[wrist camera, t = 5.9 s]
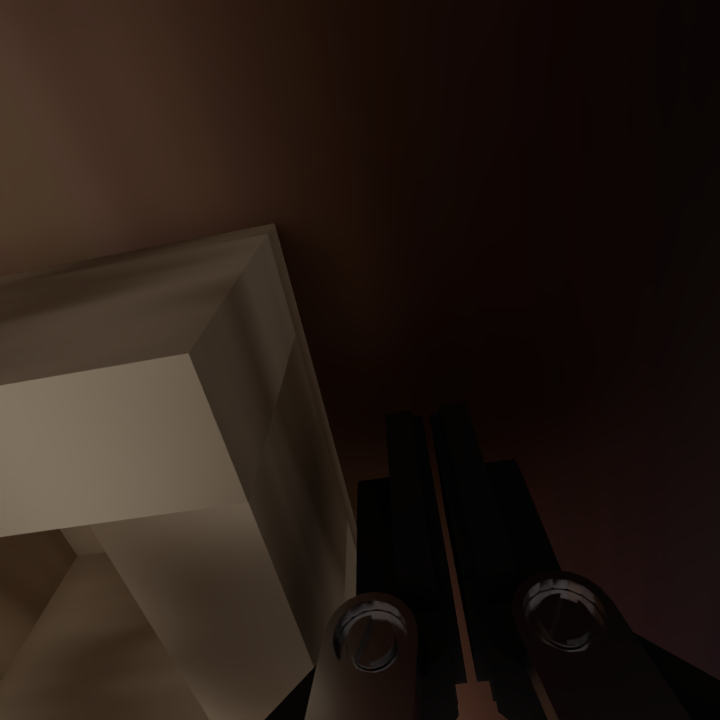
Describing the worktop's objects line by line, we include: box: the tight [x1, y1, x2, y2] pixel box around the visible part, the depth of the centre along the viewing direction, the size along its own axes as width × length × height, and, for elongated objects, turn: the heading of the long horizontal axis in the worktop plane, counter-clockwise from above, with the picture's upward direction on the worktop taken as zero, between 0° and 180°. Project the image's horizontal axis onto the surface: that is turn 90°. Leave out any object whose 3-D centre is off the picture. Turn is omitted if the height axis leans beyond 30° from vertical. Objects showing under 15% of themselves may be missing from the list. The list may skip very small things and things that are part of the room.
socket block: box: [0, 223, 357, 720], centre depth 11 cm, size 10×10×6 cm
